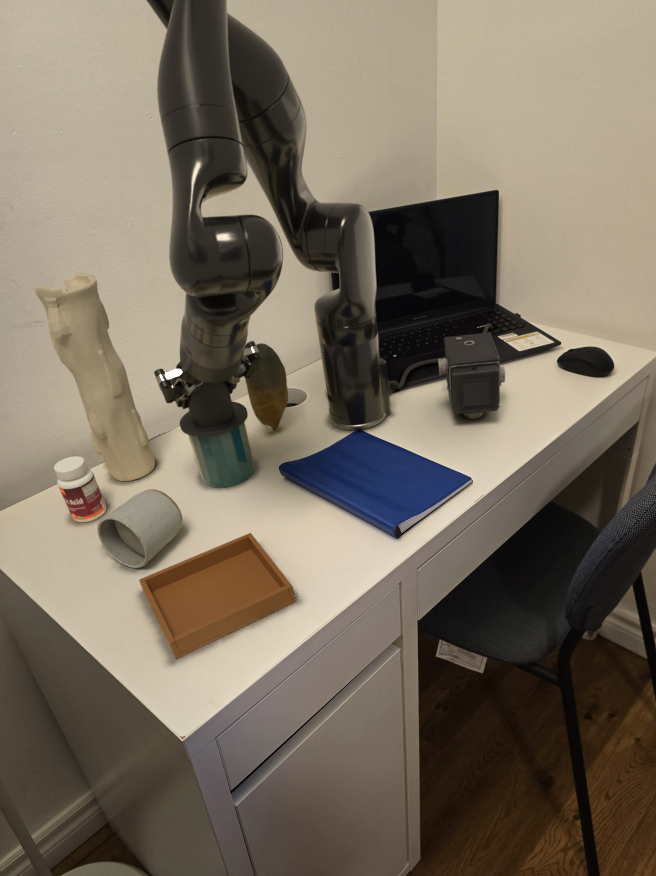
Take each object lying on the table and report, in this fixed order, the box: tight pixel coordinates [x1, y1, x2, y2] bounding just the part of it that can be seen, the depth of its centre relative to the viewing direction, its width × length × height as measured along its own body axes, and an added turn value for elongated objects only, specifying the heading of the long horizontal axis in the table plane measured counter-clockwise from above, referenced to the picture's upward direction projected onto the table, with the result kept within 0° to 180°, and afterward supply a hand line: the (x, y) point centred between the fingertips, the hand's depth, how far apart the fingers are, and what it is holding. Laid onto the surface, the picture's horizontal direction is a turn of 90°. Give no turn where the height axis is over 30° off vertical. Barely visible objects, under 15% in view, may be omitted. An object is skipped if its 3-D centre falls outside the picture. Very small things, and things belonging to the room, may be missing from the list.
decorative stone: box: [244, 343, 289, 432], centre depth 104 cm, size 10×6×15 cm, turn 166°
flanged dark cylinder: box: [179, 381, 249, 437], centre depth 92 cm, size 10×10×9 cm
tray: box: [138, 532, 297, 660], centre depth 76 cm, size 14×12×2 cm
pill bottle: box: [53, 455, 107, 523], centre depth 91 cm, size 5×5×8 cm
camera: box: [437, 331, 506, 419], centre depth 105 cm, size 11×11×15 cm
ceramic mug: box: [96, 488, 184, 569], centre depth 84 cm, size 11×8×8 cm
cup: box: [188, 421, 256, 489], centre depth 96 cm, size 8×8×9 cm
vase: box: [34, 272, 156, 482], centre depth 94 cm, size 9×8×30 cm
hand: (204, 395), depth 93 cm, fingers closed on flanged dark cylinder, 6 cm apart
